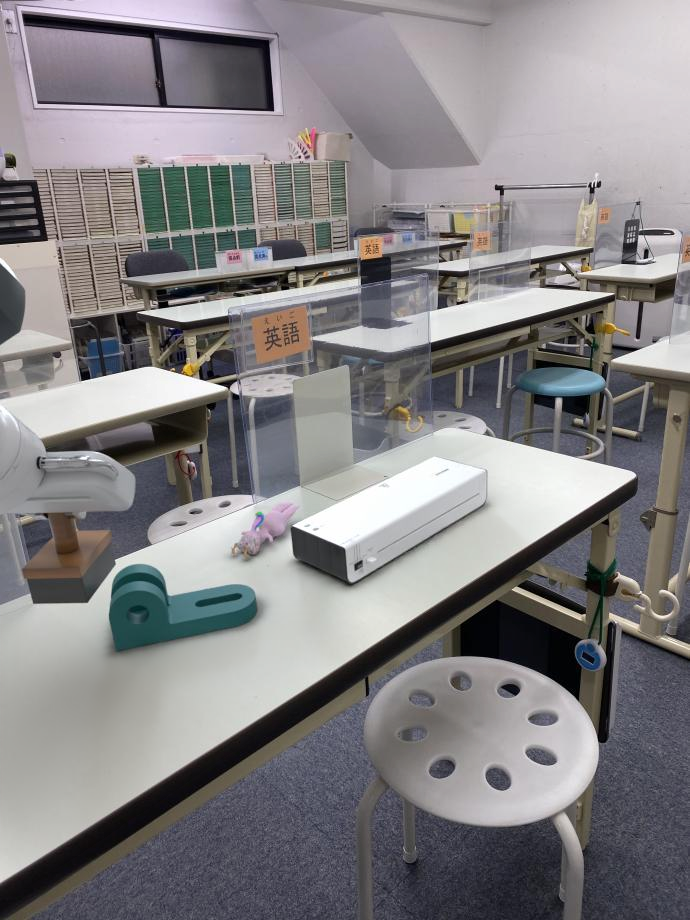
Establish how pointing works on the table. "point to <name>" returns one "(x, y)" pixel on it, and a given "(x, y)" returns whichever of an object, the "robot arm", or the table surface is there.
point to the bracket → (171, 608)
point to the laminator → (389, 518)
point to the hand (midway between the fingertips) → (62, 512)
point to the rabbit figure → (265, 528)
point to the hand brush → (69, 563)
